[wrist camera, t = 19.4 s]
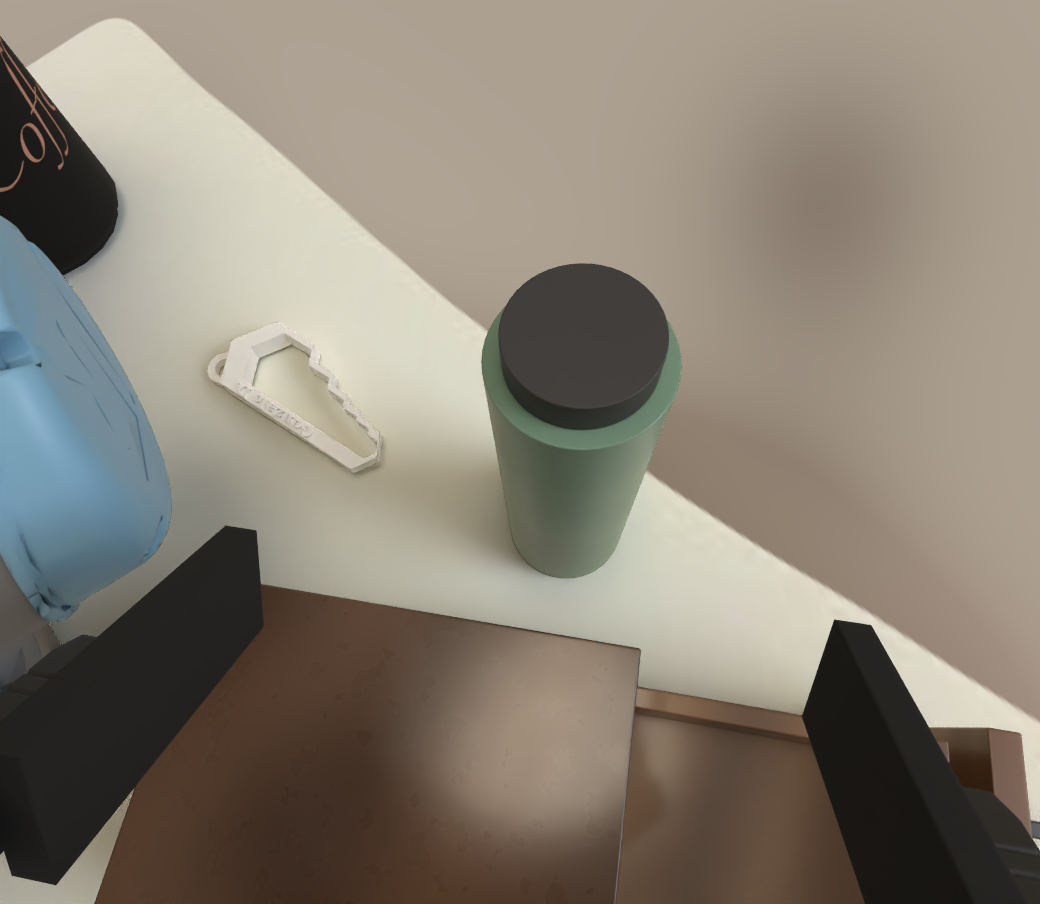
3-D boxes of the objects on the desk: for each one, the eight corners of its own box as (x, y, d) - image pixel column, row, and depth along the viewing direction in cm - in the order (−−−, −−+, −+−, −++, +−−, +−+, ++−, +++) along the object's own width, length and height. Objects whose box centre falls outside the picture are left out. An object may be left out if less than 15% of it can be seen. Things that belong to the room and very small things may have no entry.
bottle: (490, 544, 36) (436, 369, 18) (543, 454, 38) (541, 218, 20) (589, 599, 34) (633, 467, 17) (639, 503, 36) (725, 295, 19)
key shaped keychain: (421, 418, 39) (415, 405, 37) (368, 485, 37) (360, 474, 36) (258, 318, 42) (247, 302, 40) (203, 376, 40) (190, 362, 39)
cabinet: (618, 666, 33) (641, 648, 25) (582, 997, 28) (596, 1105, 20) (285, 609, 35) (208, 574, 27) (194, 911, 30) (67, 978, 22)
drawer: (1034, 750, 30) (1162, 757, 24) (1073, 1097, 26) (1244, 1217, 19) (572, 670, 32) (578, 656, 26) (531, 976, 28) (526, 1049, 21)
